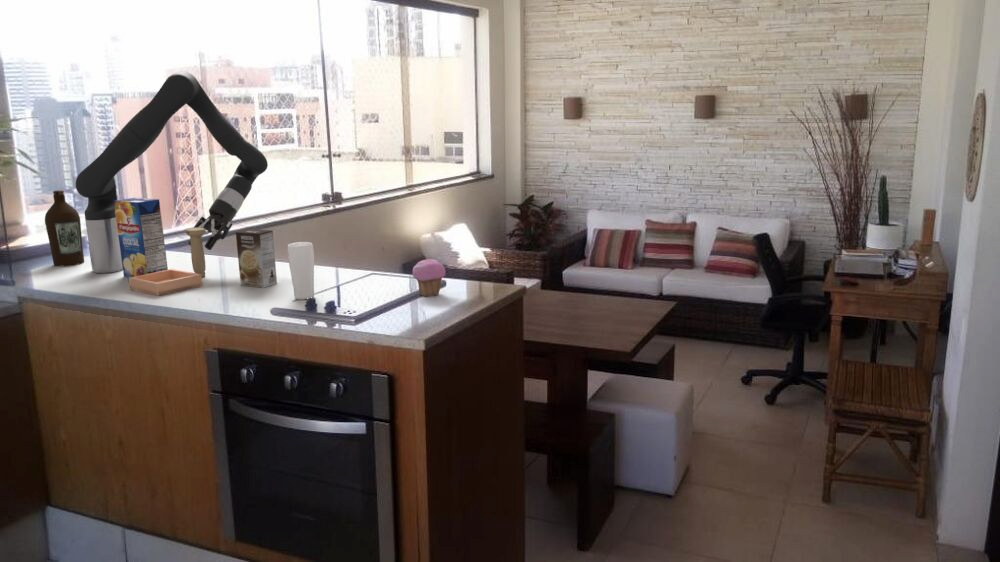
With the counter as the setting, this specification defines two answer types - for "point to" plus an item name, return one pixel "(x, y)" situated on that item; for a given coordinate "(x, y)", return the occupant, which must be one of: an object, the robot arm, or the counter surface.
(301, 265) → the drinking glass
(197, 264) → the handle
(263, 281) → the coffee box
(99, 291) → the counter surface
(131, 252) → the juice carton
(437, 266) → the cupcake
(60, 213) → the olive oil
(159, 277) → the tray
